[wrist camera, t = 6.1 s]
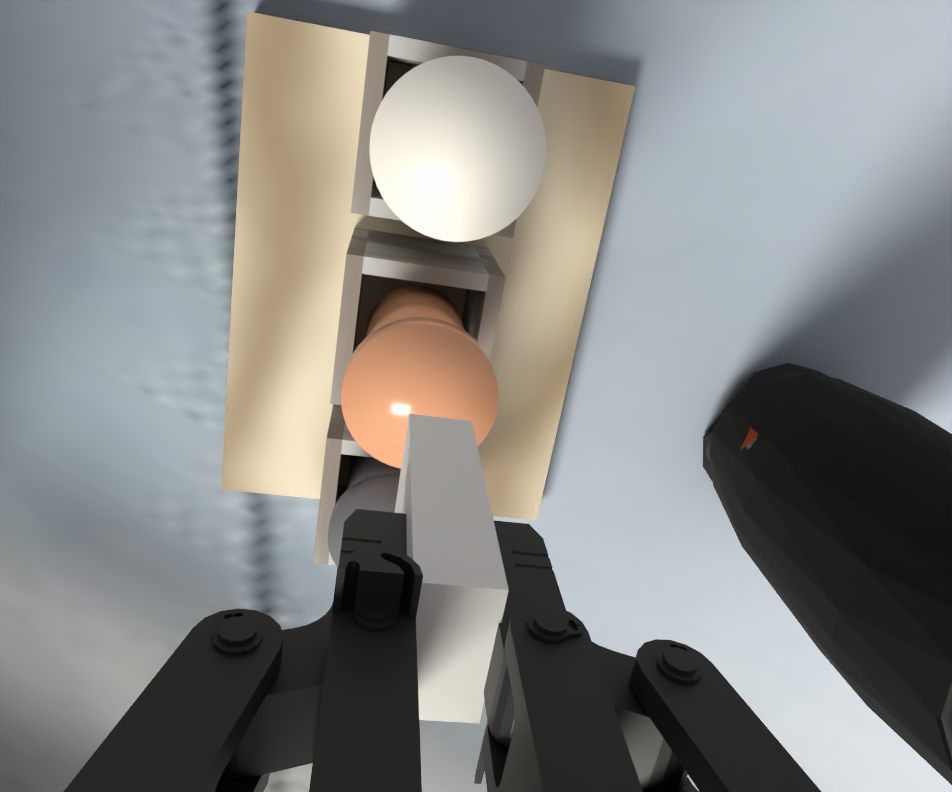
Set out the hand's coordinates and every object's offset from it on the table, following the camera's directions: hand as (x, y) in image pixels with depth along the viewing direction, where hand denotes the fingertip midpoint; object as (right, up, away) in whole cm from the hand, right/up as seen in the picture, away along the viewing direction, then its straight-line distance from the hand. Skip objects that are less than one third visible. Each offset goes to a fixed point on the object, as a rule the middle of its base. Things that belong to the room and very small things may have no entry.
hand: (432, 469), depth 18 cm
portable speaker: (+16, 0, +20) cm, 26 cm away
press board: (-2, +6, +15) cm, 17 cm away
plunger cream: (0, +11, +8) cm, 13 cm away
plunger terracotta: (-1, +4, +10) cm, 11 cm away
